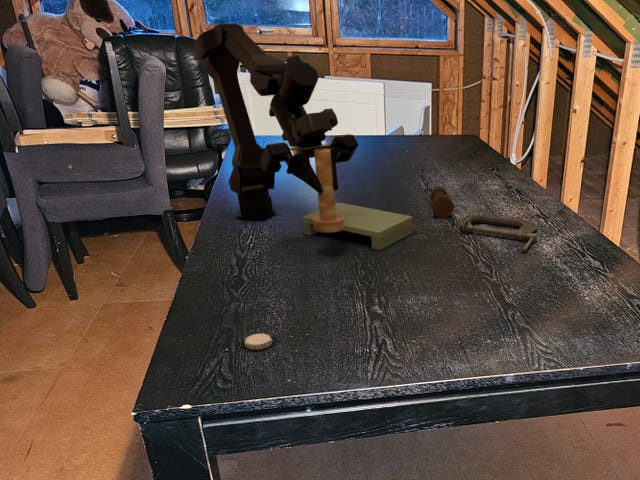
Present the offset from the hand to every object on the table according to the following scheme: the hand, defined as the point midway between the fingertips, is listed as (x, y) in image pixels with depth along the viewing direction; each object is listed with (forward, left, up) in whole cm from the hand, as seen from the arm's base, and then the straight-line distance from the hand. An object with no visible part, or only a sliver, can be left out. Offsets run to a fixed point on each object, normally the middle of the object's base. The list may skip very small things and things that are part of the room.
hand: (329, 191), depth 124 cm
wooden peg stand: (-1, +1, -8) cm, 8 cm away
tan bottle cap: (+7, -38, -13) cm, 41 cm away
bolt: (+12, +39, -14) cm, 43 cm away
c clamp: (+29, +24, -14) cm, 40 cm away
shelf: (-1, +16, -13) cm, 21 cm away
